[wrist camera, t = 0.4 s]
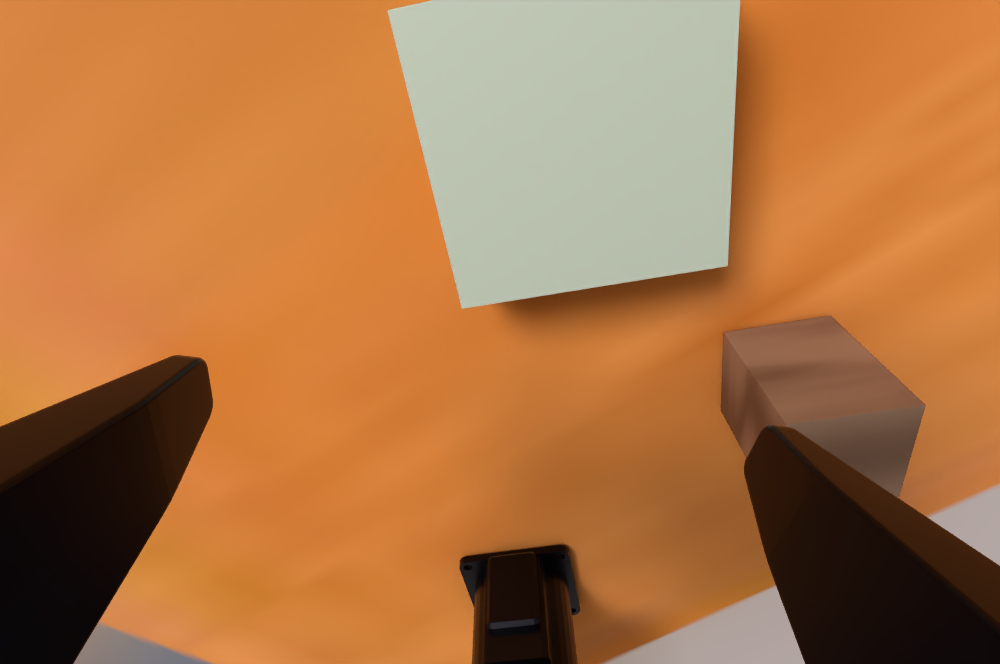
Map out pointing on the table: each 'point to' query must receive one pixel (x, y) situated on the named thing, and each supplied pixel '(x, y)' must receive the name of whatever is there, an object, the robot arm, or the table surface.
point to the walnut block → (820, 395)
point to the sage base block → (574, 137)
